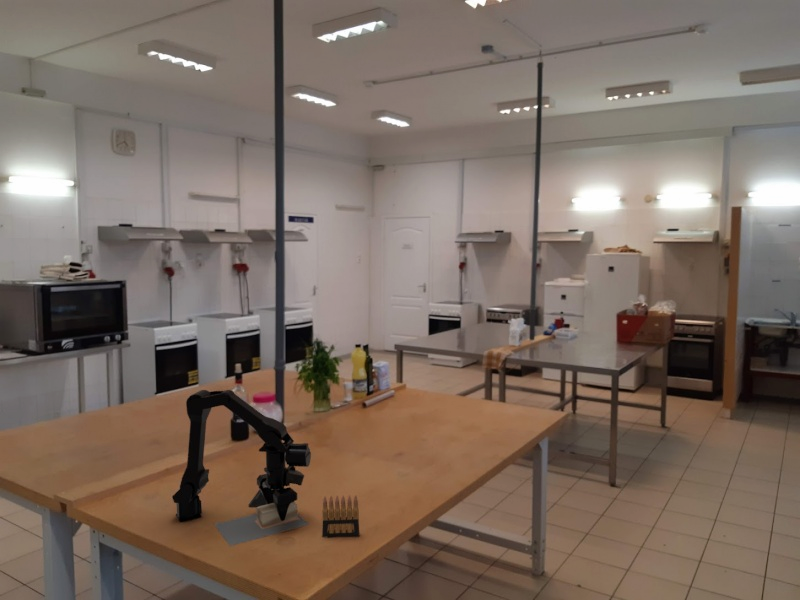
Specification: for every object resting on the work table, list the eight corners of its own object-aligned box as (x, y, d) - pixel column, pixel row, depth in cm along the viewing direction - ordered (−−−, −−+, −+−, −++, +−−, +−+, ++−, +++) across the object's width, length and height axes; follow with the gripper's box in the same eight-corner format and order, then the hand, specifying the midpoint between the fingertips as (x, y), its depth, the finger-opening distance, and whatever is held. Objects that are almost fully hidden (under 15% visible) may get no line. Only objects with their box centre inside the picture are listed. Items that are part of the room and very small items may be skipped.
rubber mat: (230, 547, 169) (230, 545, 169) (213, 525, 183) (213, 524, 183) (309, 525, 182) (309, 524, 182) (288, 506, 196) (288, 505, 196)
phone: (283, 487, 209) (271, 506, 194) (283, 491, 209) (271, 509, 194) (260, 487, 209) (247, 505, 195) (260, 490, 210) (247, 509, 195)
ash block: (297, 518, 186) (296, 504, 186) (262, 527, 180) (262, 513, 180) (291, 512, 190) (290, 498, 190) (257, 521, 184) (256, 507, 184)
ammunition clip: (322, 537, 174) (321, 497, 173) (322, 534, 176) (321, 494, 175) (359, 536, 175) (358, 496, 174) (359, 533, 177) (358, 493, 176)
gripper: (313, 469, 180) (314, 519, 181) (289, 451, 196) (290, 498, 197) (277, 476, 174) (278, 529, 175) (255, 458, 190) (256, 506, 191)
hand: (277, 514), depth 185 cm, fingers open, 9 cm apart
